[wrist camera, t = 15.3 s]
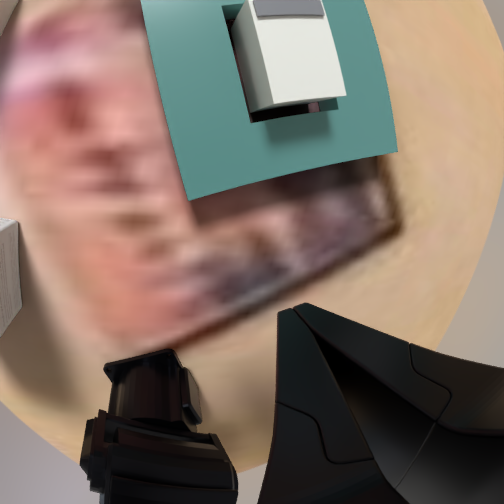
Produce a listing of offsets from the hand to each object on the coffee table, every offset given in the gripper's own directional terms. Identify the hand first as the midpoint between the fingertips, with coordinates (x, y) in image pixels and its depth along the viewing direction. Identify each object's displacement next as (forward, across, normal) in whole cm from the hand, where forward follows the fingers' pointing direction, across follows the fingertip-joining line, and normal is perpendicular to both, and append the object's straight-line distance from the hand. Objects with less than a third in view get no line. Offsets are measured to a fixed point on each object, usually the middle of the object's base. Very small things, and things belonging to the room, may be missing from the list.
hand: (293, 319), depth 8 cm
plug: (+12, -5, -9) cm, 16 cm away
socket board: (+12, -5, -9) cm, 16 cm away
